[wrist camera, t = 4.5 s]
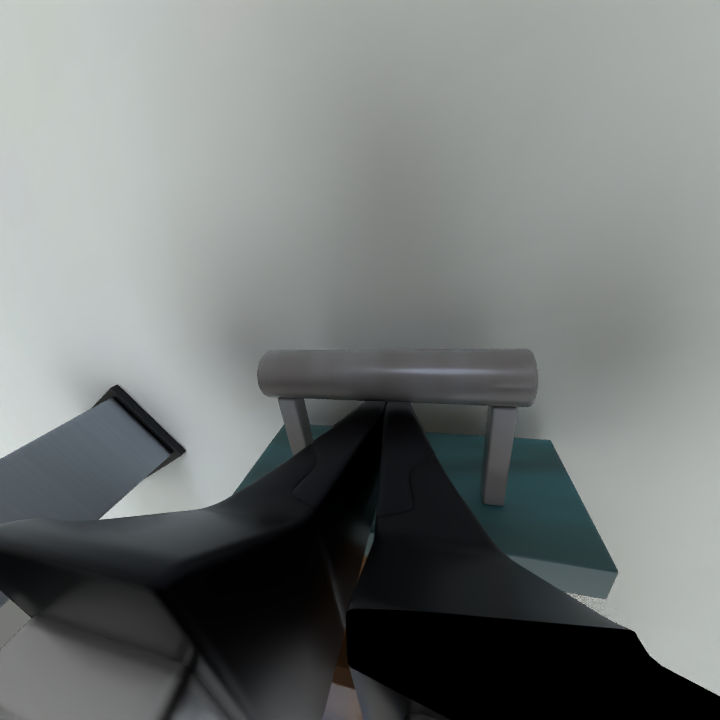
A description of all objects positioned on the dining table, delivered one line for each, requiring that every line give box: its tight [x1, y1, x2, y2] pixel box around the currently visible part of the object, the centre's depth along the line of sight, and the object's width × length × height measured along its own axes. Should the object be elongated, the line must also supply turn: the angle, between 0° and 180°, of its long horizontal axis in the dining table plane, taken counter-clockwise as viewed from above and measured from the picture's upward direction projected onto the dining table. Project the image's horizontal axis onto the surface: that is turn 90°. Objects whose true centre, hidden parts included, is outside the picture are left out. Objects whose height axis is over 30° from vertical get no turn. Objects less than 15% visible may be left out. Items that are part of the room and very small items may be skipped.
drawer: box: [233, 349, 618, 668], centre depth 12 cm, size 17×11×5 cm, turn 6°
